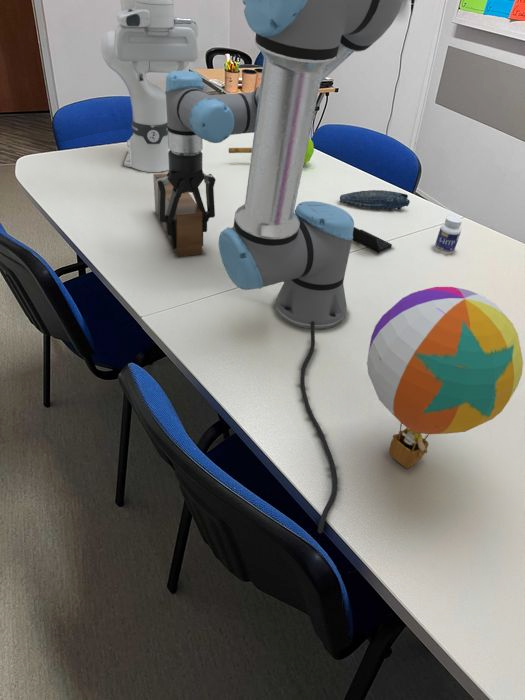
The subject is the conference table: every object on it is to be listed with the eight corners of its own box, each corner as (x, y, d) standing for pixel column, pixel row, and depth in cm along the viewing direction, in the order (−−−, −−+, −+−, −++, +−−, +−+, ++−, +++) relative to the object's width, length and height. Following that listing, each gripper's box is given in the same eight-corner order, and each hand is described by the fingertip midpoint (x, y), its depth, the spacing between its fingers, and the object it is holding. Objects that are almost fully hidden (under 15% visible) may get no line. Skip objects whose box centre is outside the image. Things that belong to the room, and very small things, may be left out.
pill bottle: (433, 251, 139) (442, 220, 133) (435, 243, 143) (444, 213, 137) (453, 256, 138) (464, 225, 132) (454, 247, 142) (465, 217, 136)
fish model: (408, 214, 157) (412, 198, 153) (339, 207, 158) (341, 191, 154) (406, 206, 162) (410, 190, 159) (339, 199, 163) (341, 183, 160)
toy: (317, 448, 82) (351, 286, 63) (393, 397, 93) (442, 246, 74) (418, 536, 71) (496, 372, 52) (491, 467, 82) (578, 310, 63)
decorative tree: (225, 127, 180) (309, 126, 185) (225, 157, 186) (306, 156, 192) (232, 143, 166) (322, 142, 172) (232, 175, 173) (319, 173, 178)
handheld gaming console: (396, 239, 139) (388, 216, 131) (384, 261, 138) (375, 240, 130) (358, 230, 145) (348, 208, 137) (347, 252, 144) (336, 231, 136)
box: (202, 254, 129) (202, 212, 122) (178, 257, 127) (176, 214, 120) (176, 211, 147) (175, 172, 140) (155, 212, 145) (153, 174, 138)
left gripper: (194, 16, 129) (194, 77, 138) (110, 13, 123) (116, 78, 131) (201, 20, 125) (201, 83, 134) (114, 17, 118) (120, 84, 127)
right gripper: (221, 143, 120) (219, 234, 135) (138, 146, 114) (145, 242, 129) (231, 154, 115) (228, 247, 129) (145, 158, 109) (151, 256, 123)
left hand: (158, 80), depth 132 cm, fingers open, 8 cm apart
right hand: (187, 244), depth 129 cm, fingers closed on box, 6 cm apart
